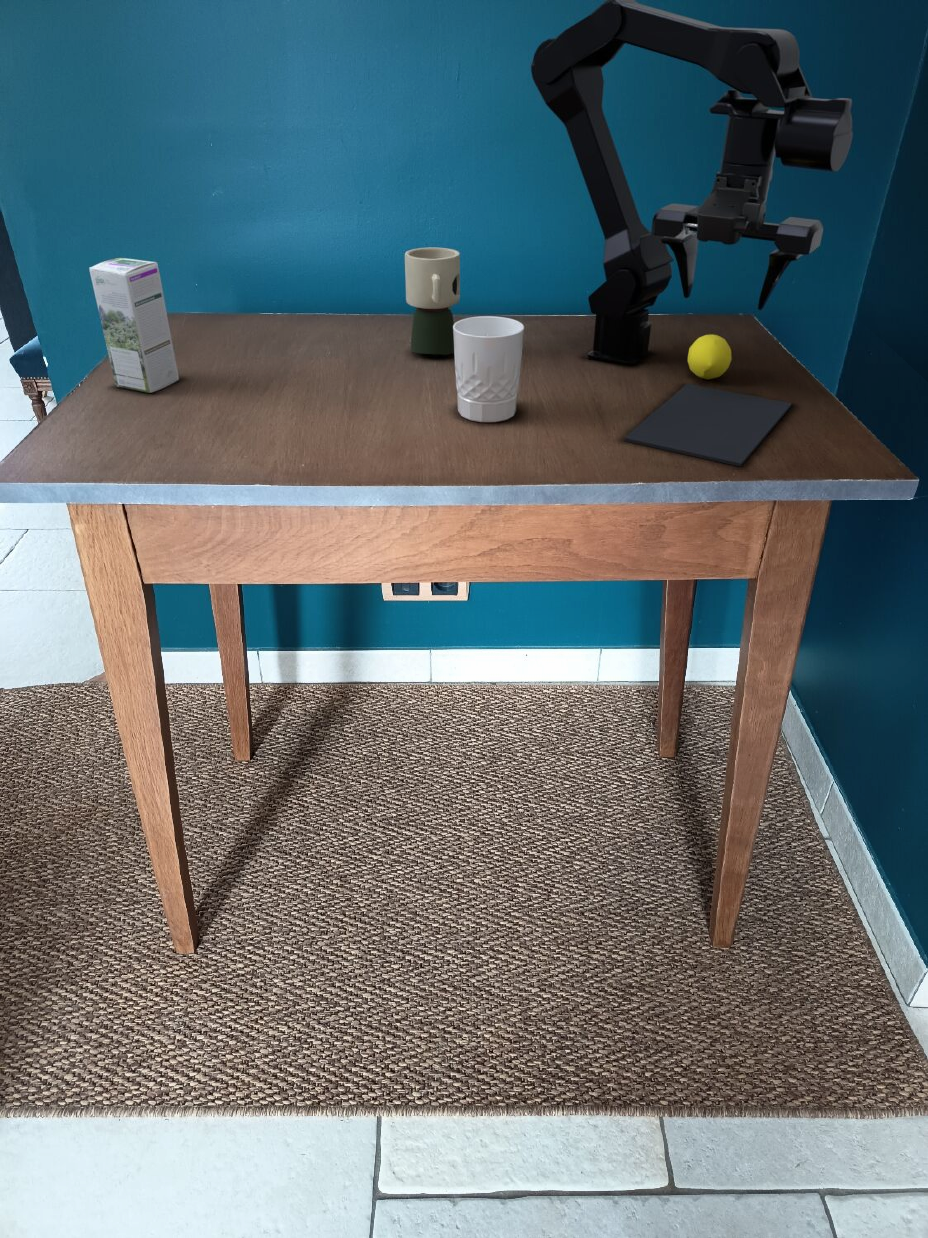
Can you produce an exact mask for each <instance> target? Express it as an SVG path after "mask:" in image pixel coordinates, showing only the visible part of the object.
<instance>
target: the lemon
mask: <svg viewBox="0 0 928 1238" xmlns="http://www.w3.org/2000/svg"><path fill="white" fill-rule="evenodd" d="M731 362H732V349H731V347H730V345H729V344H728V342H727V340H726V339H725V338H724V337H722V336H719V335H718V334H705V335H702V336H699V337H698V338H696V340H695V341H694V342H693V343H692V344H691V345H690V346H689V348H688V354H687V364H688V367H689V370H690V371H691V372H692V373H693V374H694V375H695V376H697V378H699V379H704V380H713V379H717V378H719V377H721V376H722V375H724V373H726V372H727V371H728V369H729V368H730V365H731Z"/></svg>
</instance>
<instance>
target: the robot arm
mask: <svg viewBox="0 0 928 1238" xmlns="http://www.w3.org/2000/svg"><path fill="white" fill-rule="evenodd" d="M625 44H627V45H630V46H634V47H637V48H640V49H643V50H647V51H650V52H653V53H658V54H660V55H664V56H666V57H670V58H674V59H677V60H680V61H683V62H687V63H690V64H693V65H696V66H699V67H701V68H702V69H704V70H706V71H707V72H708V73H710V74H711V75H712V76H713V77H714V78H715V79H717V80H718V81H720V82H721V83H723V84H725V85H727V86H728V87H730V88H732V89H728V90H726V91H725V93H724V94H723V96H722V97H721V98H720V99H718V100H717V101H716V102H715V103H714V104H713V105H711V106H710V107H709V113H710V114H713V115H725V116H727V119H726V125H725V133H724V138H723V145H722V151H721V157H720V165H719V170H718V172H716V175H715V178H714V182H713V187H712V188H711V191H710V193H709V195H707V197H706V198H705V200H704V201H703V202H702V204H701V205H700V206H699V205H691V204H681V203H673V202H672V203H670V204H668V205H666V206H664V207H661V208H659V209H658V210H657V211H655V213H654V215H653V218H652V224H651V229H650V230H649V229H648V228H647V227H646V226H645V225H644V224H643V222H642V220H641V218H640V215H639V212H638V209H637V206H636V203H635V201H634V198H633V194H632V191H631V189H630V186H629V183H628V180H627V177H626V174H625V171H624V169H623V166H622V163H621V159H620V157H619V153H618V151H617V148H616V145H615V142H614V139H613V136H612V133H611V130H610V127H609V125H608V122H607V120H606V119H607V118H606V116H605V114H604V109H603V98H604V84H605V81H604V74H603V69H602V68H603V67H605V66H606V65H607V64H609V62H611V61H612V60H613V59H614V58H615V57H616V56H617V55H618V53H619V52H620V51H621V49H622V48H623V47H624V45H625ZM530 73H531V79H532V81H533V83H534V85H535V87H536V89H537V90H538V92H539V94H540V96H541V99H542V101H543V102H544V104H545V105H546V107H547V108H548V109H549V110H550V111H551V112H552V113H553V115H555V116H556V117H557V119H559V120H560V122H561V123H562V125H563V126H564V128H565V130H566V133H567V135H568V138H569V141H570V144H571V147H572V150H573V152H574V153H573V154H574V155H575V158H576V161H577V164H578V167H579V170H580V173H581V175H582V178H583V180H584V184H585V186H586V190H587V192H588V195H589V197H590V200H591V203H592V206H593V209H594V211H595V215H596V217H597V220H598V223H599V226H600V229H601V232H602V234H603V237H604V246H603V247H604V249H603V258H602V260H603V261H602V266H603V271H604V275H605V281H604V282H603V283H602V284H601V285H600V286H598V287H597V288H596V289H595V290H594V291H593V292H591V294H590V295H588V299H587V300H588V305H589V309H590V313H591V314H593V315H595V322H594V334H593V344H592V345H593V346H592V350H591V351H589V352H588V353H587V358H589V359H594V360H599V361H604V362H610V363H615V364H621V365H626V366H633V365H634V364H636V363H637V362H639V361H640V360H641V359H642V358H644V357H645V356H647V355H648V354H649V353H650V349H649V347H650V338H651V329H652V323H651V322H650V321H649V316H650V315H649V314H650V309H648V308H649V307H652V306H654V305H655V303H656V302H657V299H658V297H659V295H660V294H662V293H663V292H664V291H665V290H666V289H667V288H668V286H669V284H670V282H671V279H672V276H673V270H672V265H671V263H672V262H674V261H676V264H677V268H678V274H679V278H680V283H681V289H682V295H683V298H685V299H688V298H690V296H691V295H692V289H693V285H694V281H695V279H694V278H695V271H696V262H697V255H698V248H699V241H700V242H703V243H706V242H709V241H710V242H715V243H716V242H717V243H722V244H723V245H727V246H733V245H737V243H739V242H740V241H741V238H743V239H744V238H745V239H752V240H761V241H766V242H768V241H769V242H774V246H775V247H776V249H774V250H773V251H772V252H770V253H769V257H768V266H767V270H766V274H765V277H764V280H763V284H762V287H761V291H760V295H759V298H758V304H757V310H758V311H762V310H763V309H764V307H765V306H766V304H767V302H768V301H769V299H770V297H771V295H772V293H773V291H774V290H775V288H776V287H777V285H778V283H779V281H780V279H781V277H782V275H783V274H784V273H785V271H786V270H787V268H788V267H789V266H790V264H791V263H792V262H795V261H798V260H799V259H800V258H801V257H803V256H805V255H810V254H811V253H812V252H814V251H816V250H817V249H818V248H819V247H821V243H822V239H823V238H822V237H823V233H824V225H823V223H822V222H821V220H819V219H811V218H804V217H803V218H802V217H794V216H789V217H788V218H786V219H785V220H783V221H782V222H780V223H774V222H773V223H772V222H765V221H766V212H767V205H766V204H767V198H768V193H769V189H770V182H771V181H772V180H773V174H774V170H773V166H774V160H775V158H779V159H780V162H781V164H782V166H784V167H789V168H795V169H796V168H797V169H805V170H815V171H822V172H832V173H835V172H836V173H837V172H838V171H839V170H840V169H841V167H842V166H843V165H844V163H845V161H846V159H847V157H848V154H849V151H850V149H851V145H852V142H853V141H852V140H853V136H854V132H853V116H852V113H851V108H852V104H853V99H852V98H846V97H845V98H844V97H839V98H838V97H837V98H833V99H831V98H830V99H828V98H815V97H813V94H812V93H811V90H810V88H809V85H808V83H807V80H806V78H805V76H804V73H803V71H802V69H801V66H800V47H799V45H798V42H797V38H796V37H795V35H794V34H792V32H789V31H788V30H785V29H779V28H755V27H754V28H752V27H750V28H749V27H726V26H725V27H723V26H720V25H716V24H712V23H709V22H706V21H702V20H698V19H694V18H691V17H688V16H684V15H681V14H676V13H673V12H670V11H666V10H663V9H659V8H656V7H651V6H648V5H644V4H641V3H639V2H638V1H636V0H605V1H604V2H603V3H602V4H600V5H599V6H598V7H597V8H596V9H594V11H592V12H591V14H589V15H587V16H586V17H584V18H582V19H581V20H579V21H578V22H576V23H575V24H573V25H571V26H570V27H569V28H566V29H565V30H563V31H562V32H561V33H560V34H559V35H558V36H557V37H555V38H548V39H545V40H543V41H542V42H540V44H539V45H538V46H537V48H536V50H535V52H534V54H533V59H532V62H531V63H530ZM741 94H744V95H752V96H753V97H754V98H751V97H750V98H749V97H743V96H742V95H741ZM770 108H773V109H770ZM774 108H775V109H774ZM776 109H784V111H783V110H776ZM667 245H668V246H667ZM668 247H669V248H670V249H671V251H672V252H673V254H674V258H675V259H674V258H673V256H672V255H671V253H670V252H669V250H668Z"/></svg>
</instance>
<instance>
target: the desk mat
mask: <svg viewBox="0 0 928 1238" xmlns="http://www.w3.org/2000/svg"><path fill="white" fill-rule="evenodd" d="M792 405H793V403H792V402H787V401H781V400H776V399H771V398H765V397H761V396H755V395H750V394H745V393H738V392H734V391H729V390H723V389H717V388H714V387H713V388H712V387H708V386H702V385H697V384H692V383H686V384H685V385H684V386H682V387H681V388H680V389H678V391H676V392H675V393H674V394H673V395H671V397H670V398H669V399H667V400H666V401H665V402H664V403H663V404H661V405H660V406H659V407H658V408H657V409H656V410H654V411H653V412H652V413H651V414H650V415H649V416H648V417H646V418H645V419H644V420H643V421H642V422H640V423H639V424H638V425H637V426H636V427H635V428H634V429H632V430H631V431H630V432H629V433H627V434H626V436H624V438H623V441H624V442H627V443H628V442H629V443H632V444H636V445H641V446H645V447H650V448H655V449H660V450H663V451H664V450H665V451H668V452H674V453H678V454H681V455H686V456H691V457H695V458H700V459H703V460H708V461H714V462H717V463H723V464H726V465H730V466H736V467H742V466H743V465H744V464H745V462H746V461H747V460H748V459H749V458H750V456H751V455H752V454H753V453H754V452H755V451H756V449H757V448H758V447H759V445H760V444H761V443H762V442H763V441H764V440H765V439H766V437H767V436H768V435H769V433H771V431H773V429H774V428H775V427H776V426H777V424H778V423H779V422H780V421H781V420H782V418H783V417H784V416H785V415H786V413H787V412H788V411H789V410H790V409H791V407H792Z"/></svg>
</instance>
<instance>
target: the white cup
mask: <svg viewBox="0 0 928 1238" xmlns="http://www.w3.org/2000/svg"><path fill="white" fill-rule="evenodd" d="M524 333H525V326H524V324H523V323H522V322H521V321H519V320H516V319H513V318H509V317H503V316H496V315H495V316H493V315H480V316H471V317H466V318H462V319H459V320H458V321H455V322H454V325H453V336H454V353H453V355H454V357H453V359H454V372H455V387H456V391H457V395H456V396H457V412H458V413H459V414H460V416H461V417H463V418H464V419H467V420H469V421H473V422H479V423H497V422H502V421H506V420H509V419H511V418H512V417H514V416H515V413H516V412H517V406H518V405H517V404H518V392H519V389H520V379H521V369H522V359H523V345H524Z"/></svg>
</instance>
